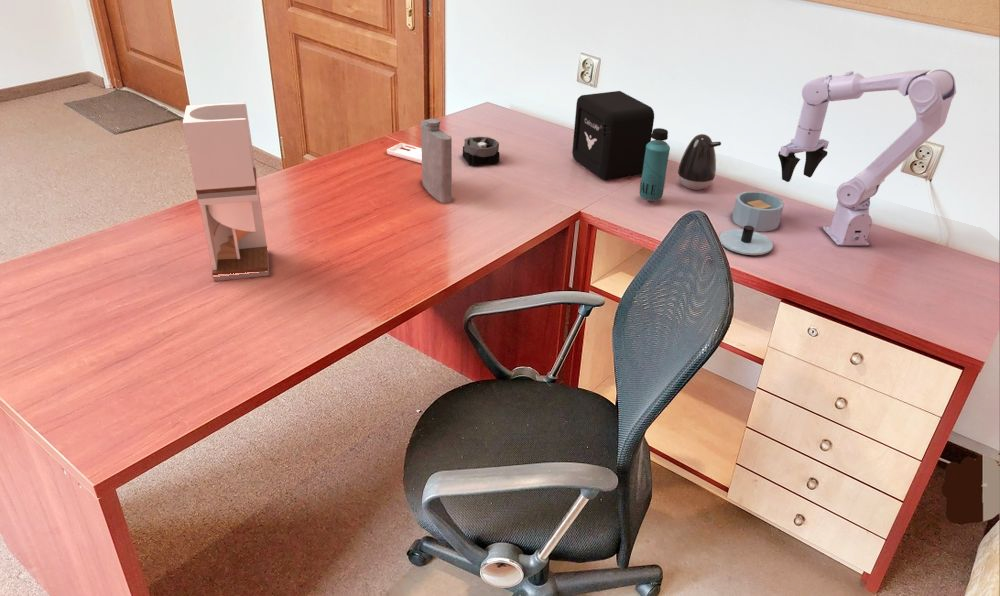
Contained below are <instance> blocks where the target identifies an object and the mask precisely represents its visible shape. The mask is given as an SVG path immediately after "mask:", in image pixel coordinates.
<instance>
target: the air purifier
mask: <svg viewBox="0 0 1000 596" xmlns="http://www.w3.org/2000/svg"><path fill="white" fill-rule="evenodd" d="M575 105H576V106H575V117H574V119H575V120H574V130H573V139H572V149H571V150H572V151H571V153H572V157H573V160H574V161H576V162H577V163H578V164H580V165H581V166H582V167H584V168H585V169H587V170H588V171H590V172H591V173H592V174H594V175H596V177H598V178H600V179H601V180H603V181H605V182H608V181H613V180H619V179H626V178H631V177H637V176H642V173H643V164H644V163H643V162H644V158H645V152H646V145H647V144H648V143H649V142H650V141H652V137H651V136H652V132H653V129H654V123H655V111H654V109H653V108H652V106H649V105H647V104H646V103H644V102H642V101H640V100H639V99H637V98H634V97H633V96H631V95H629V94H627V93H625V92H623V91H621V90H615V91H614V90H613V91H605V92H598V93H589V94H581V95H580V96H579V97H578V98H577V100H576V104H575Z"/></svg>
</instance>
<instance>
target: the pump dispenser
mask: <svg viewBox="0 0 1000 596" xmlns="http://www.w3.org/2000/svg"><path fill="white" fill-rule="evenodd" d="M721 145H722V141H713V140H712V138H711V137H710V136H709V135H708V134H705V133H700V134H696V135H695V136H694V137H693V138H692V139H691V140H690V142H689V143H688V145H687V146H686V148H685V150H684V152H683V154H682V156H681V159H680V161H679V165H678V169H677V173H678V178H679V182H680V183H681V185H682V186H683V187H685V188H687V189H689V190H692V191H699V190H700V191H701V190H704V189H706V188H708V187H709V186H710V185H711V184H712V182H713V180H714V179H715V177H716V174H717V157H716V150H715V147H719V146H721Z"/></svg>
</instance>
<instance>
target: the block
mask: <svg viewBox="0 0 1000 596" xmlns="http://www.w3.org/2000/svg"><path fill="white" fill-rule="evenodd" d="M746 205H749V206H751V207H755V208H760V209H771V208H772V206H770V205H768V204H766V203H765V202H763V201H761V200H756V201H752V202H747V204H746Z"/></svg>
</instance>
